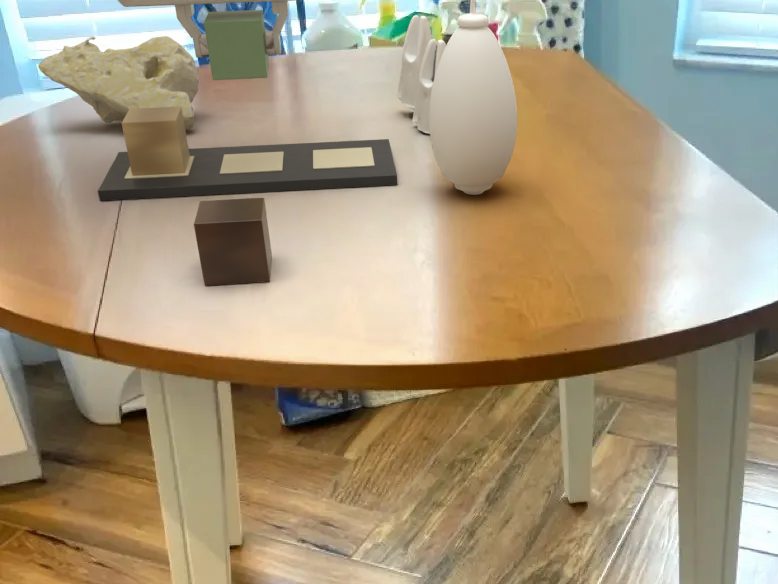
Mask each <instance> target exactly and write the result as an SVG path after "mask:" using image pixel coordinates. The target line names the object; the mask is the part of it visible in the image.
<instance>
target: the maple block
mask: <svg viewBox="0 0 778 584" xmlns="http://www.w3.org/2000/svg"><path fill="white" fill-rule="evenodd" d="M120 123H121V122H120ZM121 127H122V133H123V137H124V142H125V147H126V152H128V157H129V162H130V167H131V172H132V175H150V174H170V173H185V170H186V167H187V164H188V161H189V158H190V154H189V149H190V148H189V143H188V137H187V130H185V125H184V119H183V113H182V107H160V108H137V109H129V111H128V113H127V114H126V116H125V118H124V119H123V121H122V123H121Z"/></svg>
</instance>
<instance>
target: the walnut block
mask: <svg viewBox="0 0 778 584" xmlns="http://www.w3.org/2000/svg"><path fill="white" fill-rule="evenodd" d="M193 227H194V228H193V229H194V233H195V239H196V244H197V251H198V257H199V262H200V267H201V268H200V269H201V274H202V278H203V279H202V280H203V285H204V286H205V287H206V286H223V285H224V286H225V285H239V284H255V283H256V284H257V283H270V282H271V274H272V273H271V272H272V261H273V253H272V246H271V238H270V231H269V221H268V215H267V208H266V200H265V197H249V198H248V197H247V198H231V199H230V198H229V199H211V200H199V204H198V207H197V211H196V214H195V218H194V221H193Z"/></svg>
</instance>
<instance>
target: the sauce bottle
mask: <svg viewBox="0 0 778 584" xmlns="http://www.w3.org/2000/svg"><path fill="white" fill-rule="evenodd" d="M456 24H457V26H458V27H457V28H456V29H455V30H454V32H453V33H452V35H451V36H450V38H449V39H448V41H447V43H446V47H445V49H444V52H443V54H442V57H441V59H440V62H439V65H438V68H437V72H436V75H435V79H434V83H433V88H432V94H431V101H430V115H429V124H430V134H429V136H430V143H431V148H432V152H433V155H434V159H435V162H436V164H437V166H438V168H439V170H440V172H441V174H442V175H443V177H444V178H445V180H446V181H448V182H449V183H453V184H454V188H455V189H456V190H459V191H462V192H463V193H464V194H467V195H471V196H478V195H481V194H483V193H484V192H485V191H488V190H490V189H491V188H492V187H493V185H494V183H496V182H497V181H498V182H499V181H500V180H501V179H502V178H503V177H504V174H505V173H506V171H507V169H508V167H509V165H510V163H511V162H510V161H511V160H512V156H513V153H514V150H515V146H516V141H517V133H518V106H517V105H518V104H517V98H516V97H517V96H516V90H515V86H514V81H513V77H512V74H511V70H510V67H509V64H508V60H507V58H506V56H505V52H504V51H503V49H502V46H501V44H500V42H499V41H498V38H497V36H496V35H495V33H494V32H493V31H492V30H491V29H490V28H489V26H488V25H489V18H488V16H487V15H485V14H483V13H477V5H476V0H469V13H464V14H462V15H459V17H458V18H457V21H456Z"/></svg>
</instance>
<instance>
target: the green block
mask: <svg viewBox="0 0 778 584" xmlns="http://www.w3.org/2000/svg"><path fill="white" fill-rule="evenodd" d="M203 26H204V34H206V40H207V46H208V53H209V57H208V58H209V65H210V71H211V77H212V81H230V80H232V81H233V80H249V79H251V80H252V79H267V78H268V77H269V76H268V75H269V70H270V59H269V54H266V52H265V44H264V36H263V35H264V31H266V27H265V20H264V11H263V9H249V10H248V9H247V10H246V9H245V10H244V9H243V10H223V11H222V10H221V11H208V12H207V15H206V17H205V19H204V21H203Z"/></svg>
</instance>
